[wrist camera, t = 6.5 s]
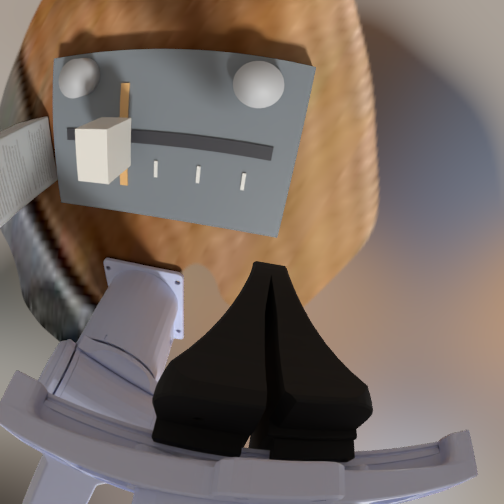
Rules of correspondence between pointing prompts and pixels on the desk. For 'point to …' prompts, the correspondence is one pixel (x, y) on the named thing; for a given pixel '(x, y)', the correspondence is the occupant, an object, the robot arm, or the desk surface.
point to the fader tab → (103, 149)
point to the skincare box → (25, 165)
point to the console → (187, 132)
